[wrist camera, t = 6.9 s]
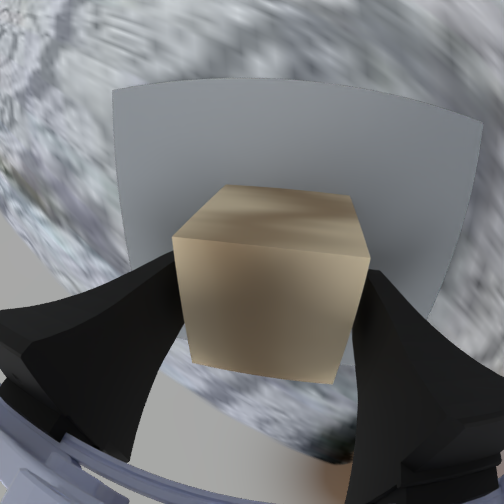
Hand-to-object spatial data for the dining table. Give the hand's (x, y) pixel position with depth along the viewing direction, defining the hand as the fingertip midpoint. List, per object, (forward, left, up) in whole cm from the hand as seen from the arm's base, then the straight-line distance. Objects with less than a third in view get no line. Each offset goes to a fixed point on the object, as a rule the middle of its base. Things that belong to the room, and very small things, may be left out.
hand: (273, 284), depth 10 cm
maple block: (0, 0, -3) cm, 3 cm away
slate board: (0, 0, -4) cm, 4 cm away
